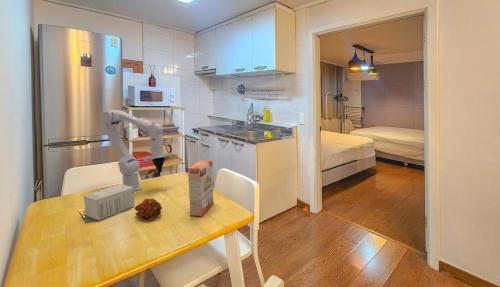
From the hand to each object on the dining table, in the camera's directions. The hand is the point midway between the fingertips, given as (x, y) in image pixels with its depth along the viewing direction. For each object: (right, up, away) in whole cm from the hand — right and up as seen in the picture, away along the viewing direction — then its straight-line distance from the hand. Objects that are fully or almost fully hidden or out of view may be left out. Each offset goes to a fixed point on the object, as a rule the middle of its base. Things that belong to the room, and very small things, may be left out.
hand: (159, 172), depth 134 cm
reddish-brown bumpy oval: (+6, -16, -28) cm, 33 cm away
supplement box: (-9, -9, -16) cm, 20 cm away
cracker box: (+27, -14, -22) cm, 38 cm away
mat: (-17, -15, -21) cm, 31 cm away
